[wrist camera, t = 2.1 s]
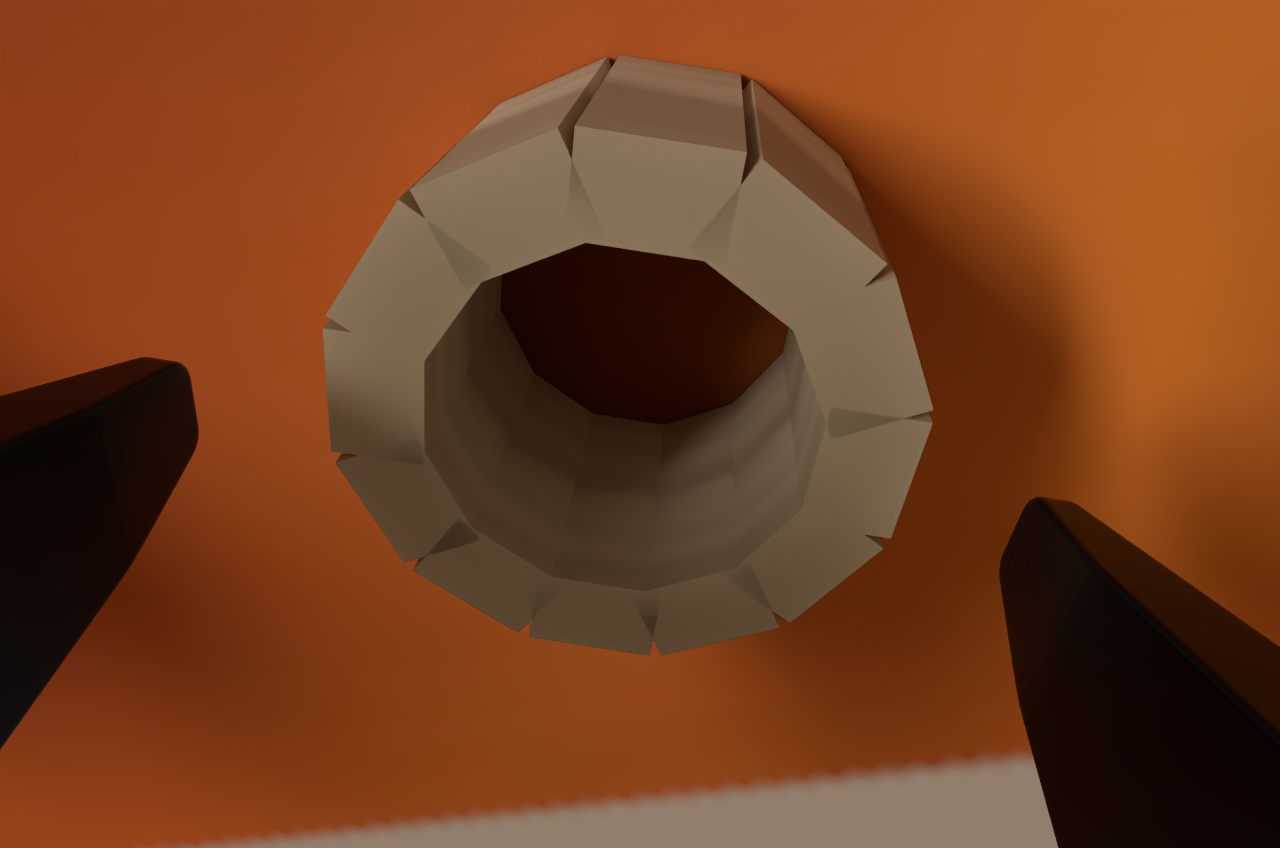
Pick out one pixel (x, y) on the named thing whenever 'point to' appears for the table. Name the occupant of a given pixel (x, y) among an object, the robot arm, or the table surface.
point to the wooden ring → (616, 447)
